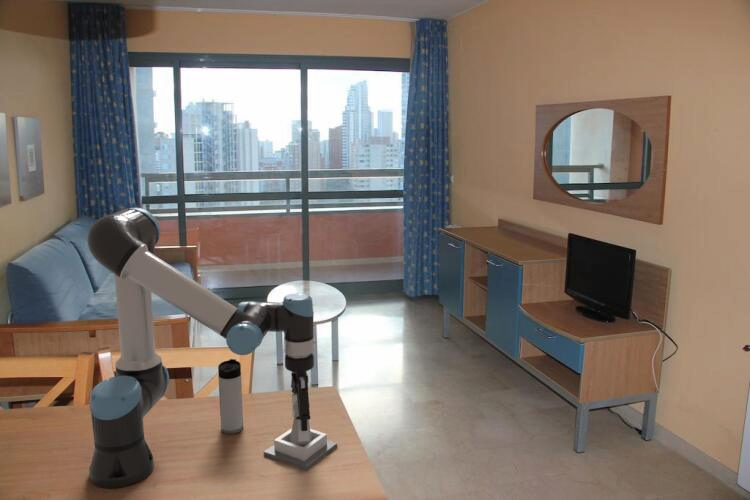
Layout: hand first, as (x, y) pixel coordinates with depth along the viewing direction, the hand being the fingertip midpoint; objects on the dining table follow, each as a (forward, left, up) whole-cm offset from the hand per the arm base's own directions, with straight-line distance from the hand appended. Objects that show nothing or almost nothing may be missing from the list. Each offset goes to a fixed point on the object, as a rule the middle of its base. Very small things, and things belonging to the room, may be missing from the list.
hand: (300, 427), depth 171 cm
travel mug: (-24, -1, -7) cm, 25 cm away
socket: (0, 0, -7) cm, 7 cm away
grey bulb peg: (0, 0, -6) cm, 6 cm away
